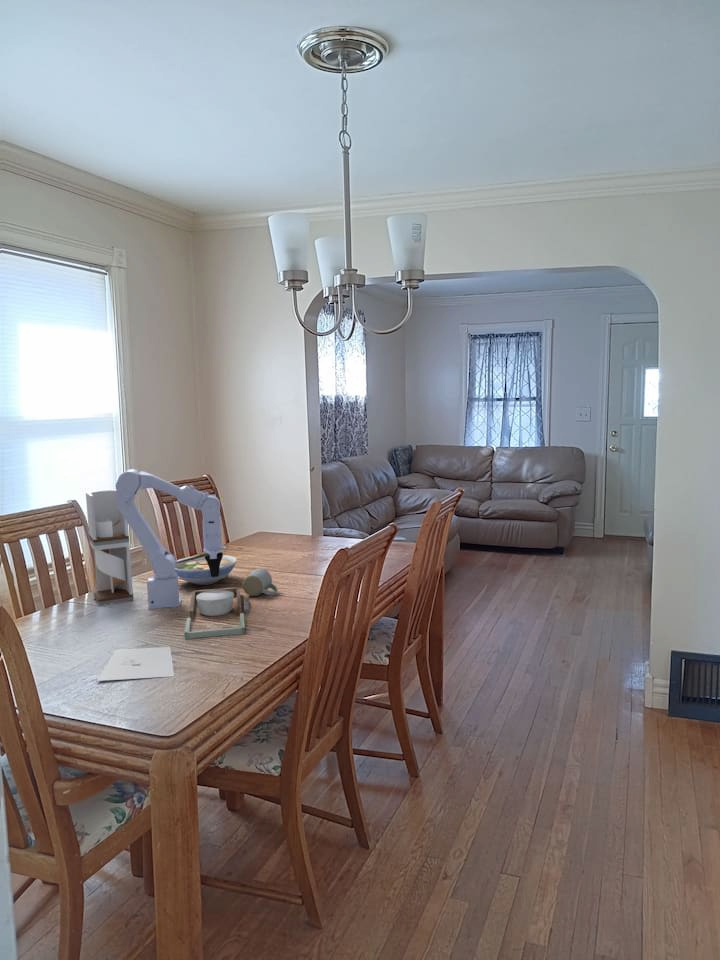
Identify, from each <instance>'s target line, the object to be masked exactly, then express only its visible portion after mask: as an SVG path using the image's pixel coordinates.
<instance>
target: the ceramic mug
mask: <svg viewBox="0 0 720 960" xmlns="http://www.w3.org/2000/svg"><path fill="white" fill-rule="evenodd" d="M242 589H243V591H244V593H246V594H247V595H248V596H250V597H257V596H260V595H261V594H264V595H268V596H275V595H276V594H277V593H278V587H277V586H276V585H275V584H273V579H272V575H271V573H270V572H269V571H268V570H266V569H265V568H256V569H253V570H252V571H251V572H250V573H249V574H247V575H246V576H245V578H244V579H243V581H242ZM269 589H272V590H269Z"/></svg>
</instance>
